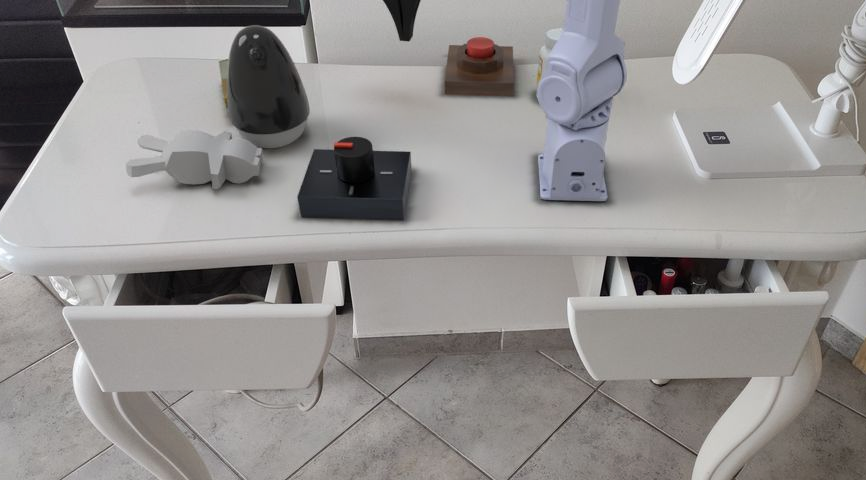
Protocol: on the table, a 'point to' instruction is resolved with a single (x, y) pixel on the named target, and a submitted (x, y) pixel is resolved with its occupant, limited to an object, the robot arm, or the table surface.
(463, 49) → the button box
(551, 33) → the supplement bottle
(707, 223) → the table surface
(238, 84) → the black glossy egg shape
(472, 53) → the button
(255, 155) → the bunny figurine
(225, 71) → the medication box
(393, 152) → the dial panel
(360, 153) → the dial
